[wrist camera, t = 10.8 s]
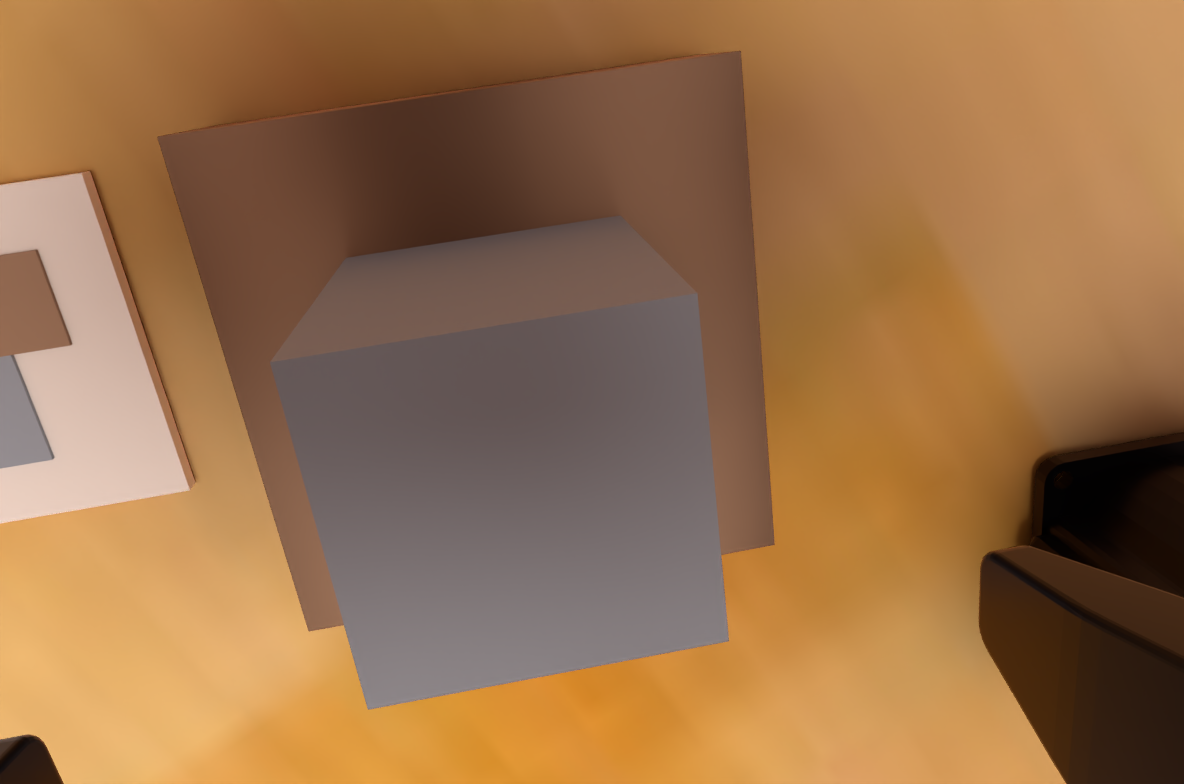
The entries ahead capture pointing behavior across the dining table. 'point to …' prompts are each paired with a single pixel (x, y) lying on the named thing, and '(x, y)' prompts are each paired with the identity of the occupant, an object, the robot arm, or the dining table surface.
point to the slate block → (508, 458)
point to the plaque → (75, 362)
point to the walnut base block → (481, 235)
